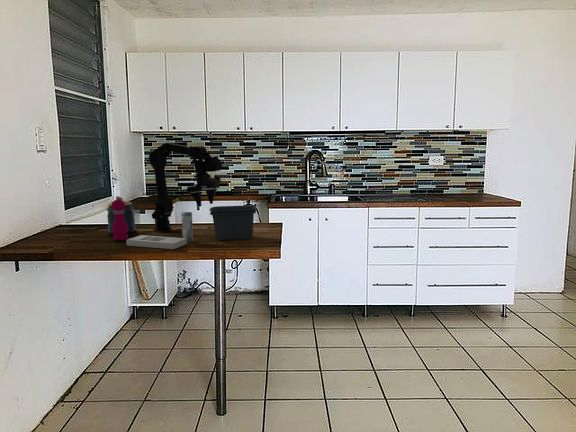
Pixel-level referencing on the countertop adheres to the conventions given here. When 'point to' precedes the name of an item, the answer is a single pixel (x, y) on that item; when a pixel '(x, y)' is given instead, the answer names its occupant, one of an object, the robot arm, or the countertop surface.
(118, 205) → the pepper mill
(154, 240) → the white flat box
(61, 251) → the countertop surface
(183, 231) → the sleeve
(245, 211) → the storage bin
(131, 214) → the canister
